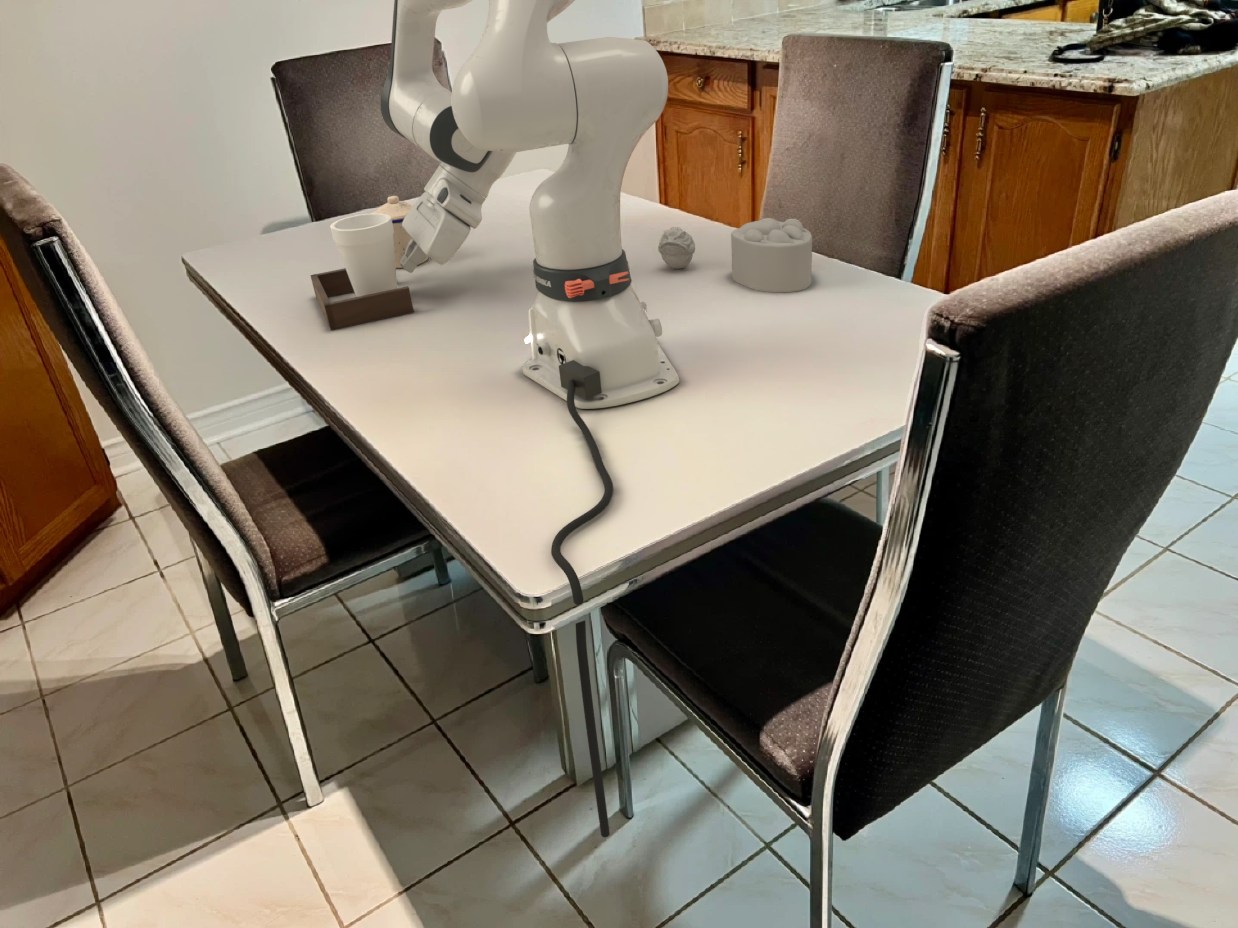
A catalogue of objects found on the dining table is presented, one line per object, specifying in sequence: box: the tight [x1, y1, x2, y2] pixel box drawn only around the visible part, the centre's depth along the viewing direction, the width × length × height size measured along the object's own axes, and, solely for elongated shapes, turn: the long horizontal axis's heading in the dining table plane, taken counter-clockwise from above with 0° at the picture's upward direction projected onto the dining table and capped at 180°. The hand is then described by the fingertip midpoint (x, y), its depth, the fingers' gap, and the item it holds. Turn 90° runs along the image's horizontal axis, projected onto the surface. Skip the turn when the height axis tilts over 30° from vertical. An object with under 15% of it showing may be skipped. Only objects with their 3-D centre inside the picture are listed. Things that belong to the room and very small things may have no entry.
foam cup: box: [329, 212, 398, 297], centre depth 150 cm, size 10×9×13 cm
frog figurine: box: [657, 226, 696, 269], centre depth 153 cm, size 6×7×7 cm
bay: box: [310, 267, 415, 331], centre depth 151 cm, size 17×13×4 cm
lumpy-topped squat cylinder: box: [730, 217, 813, 293], centre depth 145 cm, size 10×13×9 cm
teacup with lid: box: [371, 195, 430, 269], centre depth 168 cm, size 12×9×12 cm
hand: (404, 268), depth 153 cm, fingers closed, pressing on foam cup
